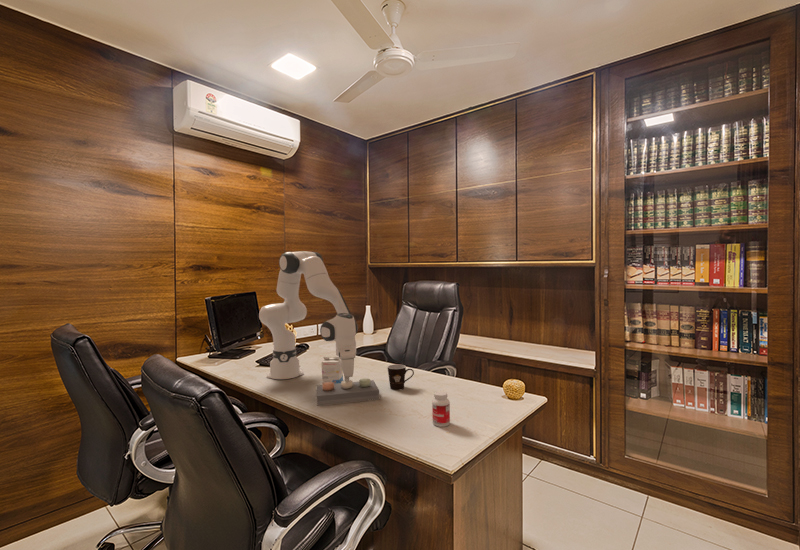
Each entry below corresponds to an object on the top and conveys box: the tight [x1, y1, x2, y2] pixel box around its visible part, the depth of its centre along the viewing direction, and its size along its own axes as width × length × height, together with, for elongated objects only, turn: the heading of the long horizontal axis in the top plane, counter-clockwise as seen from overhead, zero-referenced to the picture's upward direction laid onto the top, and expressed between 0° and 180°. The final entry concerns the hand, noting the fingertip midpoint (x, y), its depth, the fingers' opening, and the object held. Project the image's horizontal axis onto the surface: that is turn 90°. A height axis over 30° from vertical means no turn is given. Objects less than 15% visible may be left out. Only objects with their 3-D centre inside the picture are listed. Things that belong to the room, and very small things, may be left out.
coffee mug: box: [387, 363, 415, 391], centre depth 173 cm, size 12×9×10 cm
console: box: [316, 379, 380, 407], centre depth 163 cm, size 15×26×4 cm, turn 103°
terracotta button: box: [321, 382, 334, 391], centre depth 161 cm, size 5×5×4 cm
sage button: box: [358, 378, 371, 387], centre depth 165 cm, size 5×5×4 cm
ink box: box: [321, 356, 344, 385], centre depth 184 cm, size 9×8×13 cm
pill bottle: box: [431, 390, 451, 428], centre depth 132 cm, size 6×6×11 cm
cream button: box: [341, 379, 354, 389], centre depth 163 cm, size 5×5×4 cm
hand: (346, 381), depth 163 cm, fingers closed, pressing on cream button
